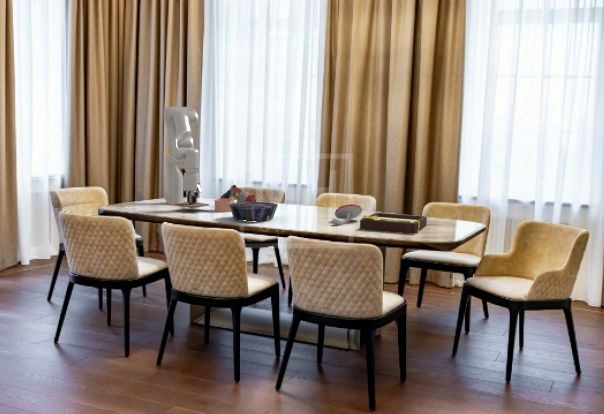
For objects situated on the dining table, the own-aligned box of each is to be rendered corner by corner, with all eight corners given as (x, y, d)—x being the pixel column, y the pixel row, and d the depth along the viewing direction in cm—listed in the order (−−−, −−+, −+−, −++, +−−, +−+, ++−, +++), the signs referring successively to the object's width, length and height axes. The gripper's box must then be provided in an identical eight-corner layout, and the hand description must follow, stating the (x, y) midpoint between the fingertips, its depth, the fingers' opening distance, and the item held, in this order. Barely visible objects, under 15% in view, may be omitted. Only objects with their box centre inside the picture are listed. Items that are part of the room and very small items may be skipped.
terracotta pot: (210, 211, 380) (210, 199, 379) (223, 209, 389) (223, 198, 389) (225, 213, 374) (225, 201, 373) (237, 211, 384) (237, 199, 383)
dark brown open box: (416, 221, 320) (357, 216, 331) (416, 235, 321) (357, 229, 332) (427, 214, 346) (372, 210, 357) (427, 226, 347) (372, 222, 358)
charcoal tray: (172, 212, 377) (172, 211, 377) (191, 209, 390) (191, 208, 390) (193, 214, 368) (193, 213, 368) (212, 211, 382) (212, 210, 382)
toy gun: (247, 220, 400) (257, 198, 397) (216, 203, 402) (226, 181, 399) (249, 218, 405) (259, 197, 402) (219, 202, 407) (229, 181, 404)
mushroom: (316, 223, 349) (317, 204, 347) (347, 219, 367) (347, 200, 366) (335, 226, 340) (336, 206, 338) (366, 221, 358) (366, 203, 357)
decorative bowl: (219, 222, 357) (218, 204, 355) (257, 213, 376) (256, 196, 375) (251, 228, 340) (250, 209, 338) (288, 219, 359) (288, 201, 357)
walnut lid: (174, 205, 377) (174, 194, 376) (190, 202, 389) (191, 192, 388) (192, 208, 370) (192, 197, 369) (209, 205, 382) (209, 194, 381)
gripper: (176, 170, 378) (176, 201, 380) (198, 172, 369) (198, 204, 372) (185, 169, 384) (185, 200, 387) (207, 171, 375) (207, 203, 378)
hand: (191, 202), depth 379 cm, fingers closed on walnut lid, 3 cm apart
